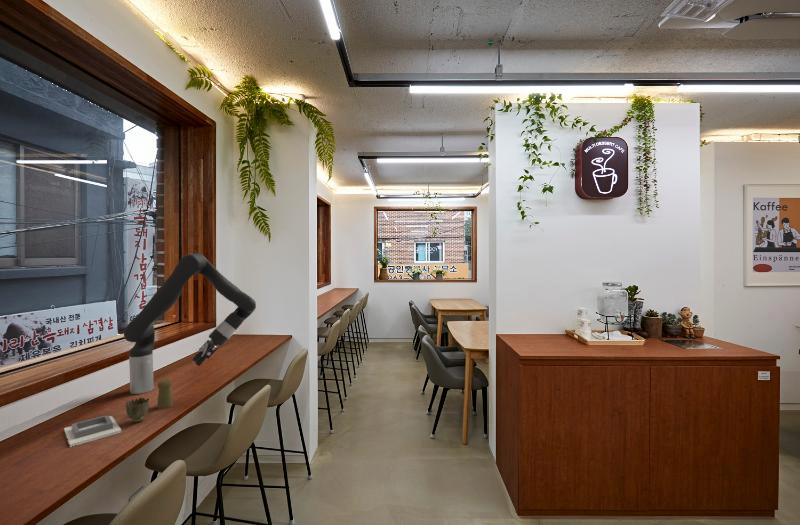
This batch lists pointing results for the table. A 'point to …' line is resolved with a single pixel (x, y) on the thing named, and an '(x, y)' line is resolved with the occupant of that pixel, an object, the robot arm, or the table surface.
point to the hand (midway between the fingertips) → (195, 362)
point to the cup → (137, 409)
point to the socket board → (91, 430)
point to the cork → (164, 394)
